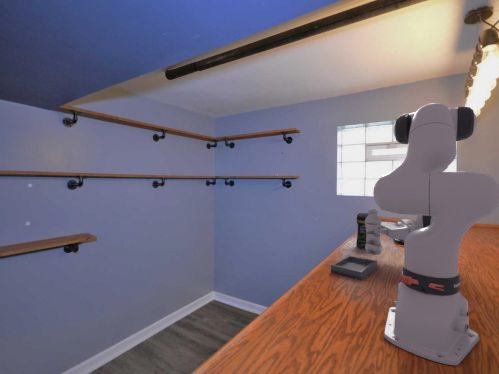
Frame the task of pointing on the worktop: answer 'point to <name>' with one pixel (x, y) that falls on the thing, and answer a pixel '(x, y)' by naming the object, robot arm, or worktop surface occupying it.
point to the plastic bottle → (373, 238)
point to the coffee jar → (361, 230)
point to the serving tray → (354, 267)
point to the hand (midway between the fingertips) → (371, 229)
